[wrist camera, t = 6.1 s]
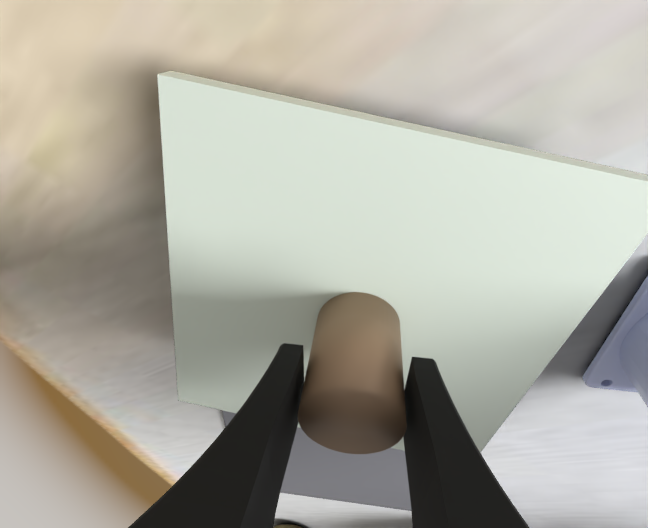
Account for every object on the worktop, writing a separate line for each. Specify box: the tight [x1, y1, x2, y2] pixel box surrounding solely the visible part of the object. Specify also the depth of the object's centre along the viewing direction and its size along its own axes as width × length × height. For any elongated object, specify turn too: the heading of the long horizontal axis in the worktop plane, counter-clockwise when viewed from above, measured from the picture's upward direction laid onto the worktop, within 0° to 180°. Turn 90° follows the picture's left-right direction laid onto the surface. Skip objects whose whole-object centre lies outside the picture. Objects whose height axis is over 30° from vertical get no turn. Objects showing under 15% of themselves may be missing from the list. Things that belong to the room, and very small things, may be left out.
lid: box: [157, 71, 648, 454], centre depth 12 cm, size 14×14×5 cm
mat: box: [222, 410, 412, 511], centre depth 26 cm, size 17×17×1 cm
